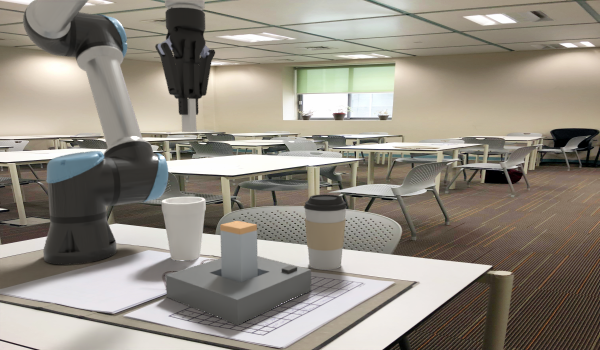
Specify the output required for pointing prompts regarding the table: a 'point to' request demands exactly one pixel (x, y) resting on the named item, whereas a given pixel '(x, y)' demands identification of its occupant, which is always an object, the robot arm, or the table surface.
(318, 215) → the coffee cup
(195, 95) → the robot arm
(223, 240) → the plug peg
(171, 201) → the foam cup
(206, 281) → the socket block
